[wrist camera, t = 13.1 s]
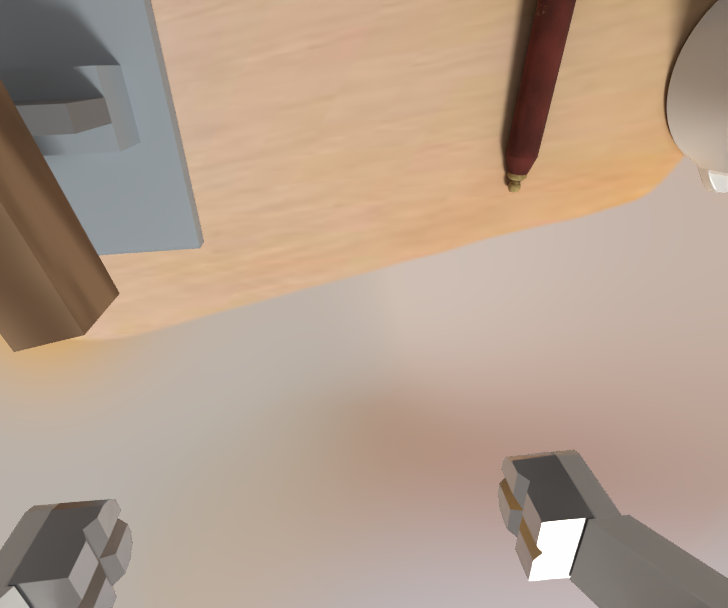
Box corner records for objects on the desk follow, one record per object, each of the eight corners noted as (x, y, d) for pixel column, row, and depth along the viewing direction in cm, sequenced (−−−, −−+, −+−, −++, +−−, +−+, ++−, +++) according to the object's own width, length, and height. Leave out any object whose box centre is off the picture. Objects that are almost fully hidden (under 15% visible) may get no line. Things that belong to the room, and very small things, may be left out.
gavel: (581, 202, 37) (464, 200, 36) (555, 185, 41) (449, 183, 40) (690, -147, 26) (526, -164, 25) (641, -125, 30) (497, -139, 29)
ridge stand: (130, -91, 28) (39, -168, 19) (204, 241, 38) (169, 298, 29) (-109, -87, 27) (-330, -165, 18) (33, 253, 37) (-58, 315, 28)
